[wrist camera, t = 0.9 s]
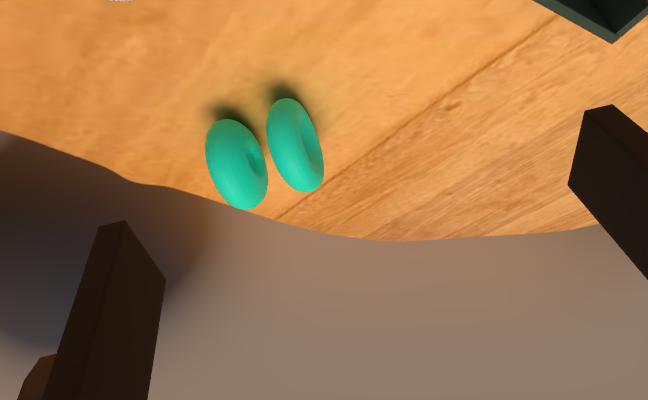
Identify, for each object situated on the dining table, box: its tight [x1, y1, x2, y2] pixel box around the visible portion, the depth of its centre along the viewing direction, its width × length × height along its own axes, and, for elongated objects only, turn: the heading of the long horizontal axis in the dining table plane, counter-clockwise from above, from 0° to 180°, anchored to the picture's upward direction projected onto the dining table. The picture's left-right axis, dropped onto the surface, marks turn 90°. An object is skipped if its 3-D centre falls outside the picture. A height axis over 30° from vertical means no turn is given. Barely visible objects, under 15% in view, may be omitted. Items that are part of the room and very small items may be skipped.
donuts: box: [205, 98, 324, 210], centre depth 48 cm, size 10×10×10 cm
